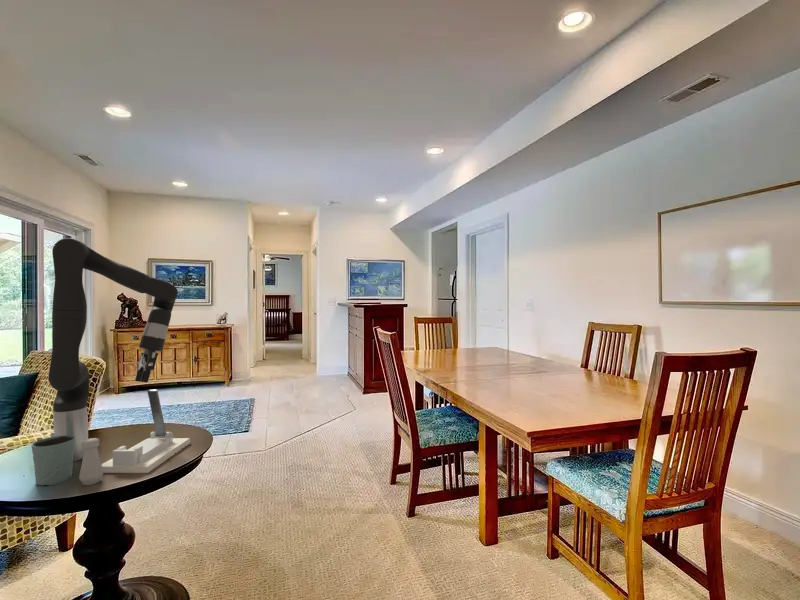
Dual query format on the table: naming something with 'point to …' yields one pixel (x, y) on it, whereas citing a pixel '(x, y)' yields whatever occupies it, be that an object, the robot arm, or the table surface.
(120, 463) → the stand
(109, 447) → the table surface
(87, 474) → the salt shaker
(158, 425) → the bar
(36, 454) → the pale green planter pot
